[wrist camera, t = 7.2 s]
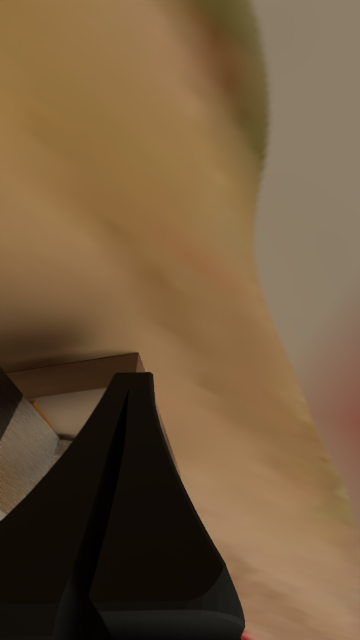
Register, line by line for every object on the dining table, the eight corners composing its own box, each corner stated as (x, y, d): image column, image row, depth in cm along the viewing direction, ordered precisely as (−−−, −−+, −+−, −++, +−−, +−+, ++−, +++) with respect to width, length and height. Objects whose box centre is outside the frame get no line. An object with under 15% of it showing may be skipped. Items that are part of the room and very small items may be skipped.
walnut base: (180, 474, 21) (180, 509, 20) (40, 490, 22) (28, 525, 21) (138, 353, 15) (133, 387, 13) (-53, 381, 16) (-81, 417, 14)
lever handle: (142, 491, 18) (134, 586, 15) (47, 506, 19) (18, 599, 16) (15, 306, 11) (-61, 405, 7) (-128, 344, 12) (-257, 449, 8)
